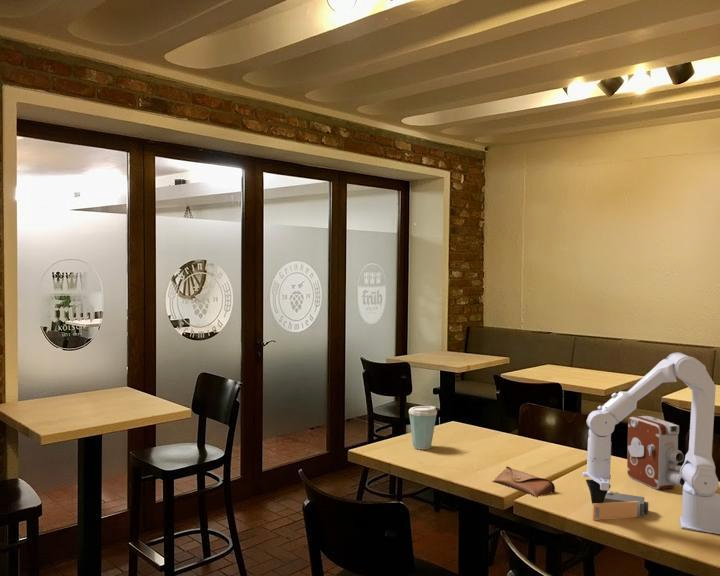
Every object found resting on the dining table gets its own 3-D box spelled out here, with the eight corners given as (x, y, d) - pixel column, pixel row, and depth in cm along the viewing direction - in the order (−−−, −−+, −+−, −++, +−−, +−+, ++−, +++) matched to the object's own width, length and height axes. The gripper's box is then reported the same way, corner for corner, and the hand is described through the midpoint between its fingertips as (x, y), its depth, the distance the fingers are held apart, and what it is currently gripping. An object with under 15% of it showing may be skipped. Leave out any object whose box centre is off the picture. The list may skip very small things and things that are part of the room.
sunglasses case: (488, 480, 192) (496, 460, 194) (501, 488, 195) (508, 468, 197) (538, 497, 177) (545, 475, 179) (550, 505, 181) (557, 484, 183)
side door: (638, 515, 164) (638, 500, 164) (641, 517, 163) (641, 502, 163) (591, 518, 162) (592, 503, 162) (594, 520, 161) (594, 505, 161)
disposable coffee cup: (404, 449, 225) (405, 408, 225) (411, 442, 235) (411, 402, 235) (433, 452, 222) (434, 410, 222) (438, 444, 232) (439, 405, 232)
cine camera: (668, 497, 179) (669, 428, 179) (622, 476, 198) (624, 414, 197) (694, 495, 181) (695, 427, 181) (647, 474, 200) (648, 413, 200)
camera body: (648, 510, 169) (648, 495, 169) (648, 518, 163) (648, 502, 163) (599, 502, 174) (599, 488, 174) (597, 510, 169) (597, 495, 169)
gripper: (577, 448, 171) (575, 497, 171) (589, 464, 156) (587, 517, 157) (604, 450, 170) (602, 499, 170) (618, 466, 155) (616, 520, 156)
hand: (597, 508), depth 163 cm, fingers closed
